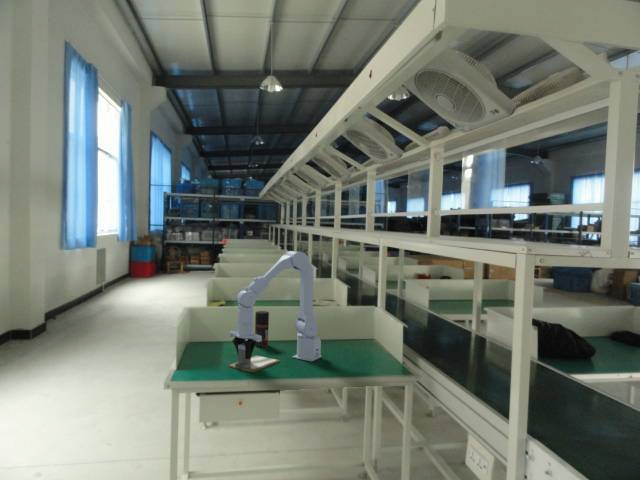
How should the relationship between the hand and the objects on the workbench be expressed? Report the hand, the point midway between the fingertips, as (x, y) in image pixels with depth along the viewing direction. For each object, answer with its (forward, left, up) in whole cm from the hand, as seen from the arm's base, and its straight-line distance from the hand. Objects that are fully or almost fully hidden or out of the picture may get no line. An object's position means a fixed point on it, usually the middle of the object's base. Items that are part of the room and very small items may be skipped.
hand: (244, 357), depth 157 cm
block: (0, 0, -2) cm, 2 cm away
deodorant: (+12, -26, -3) cm, 29 cm away
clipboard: (-3, -3, -3) cm, 5 cm away
